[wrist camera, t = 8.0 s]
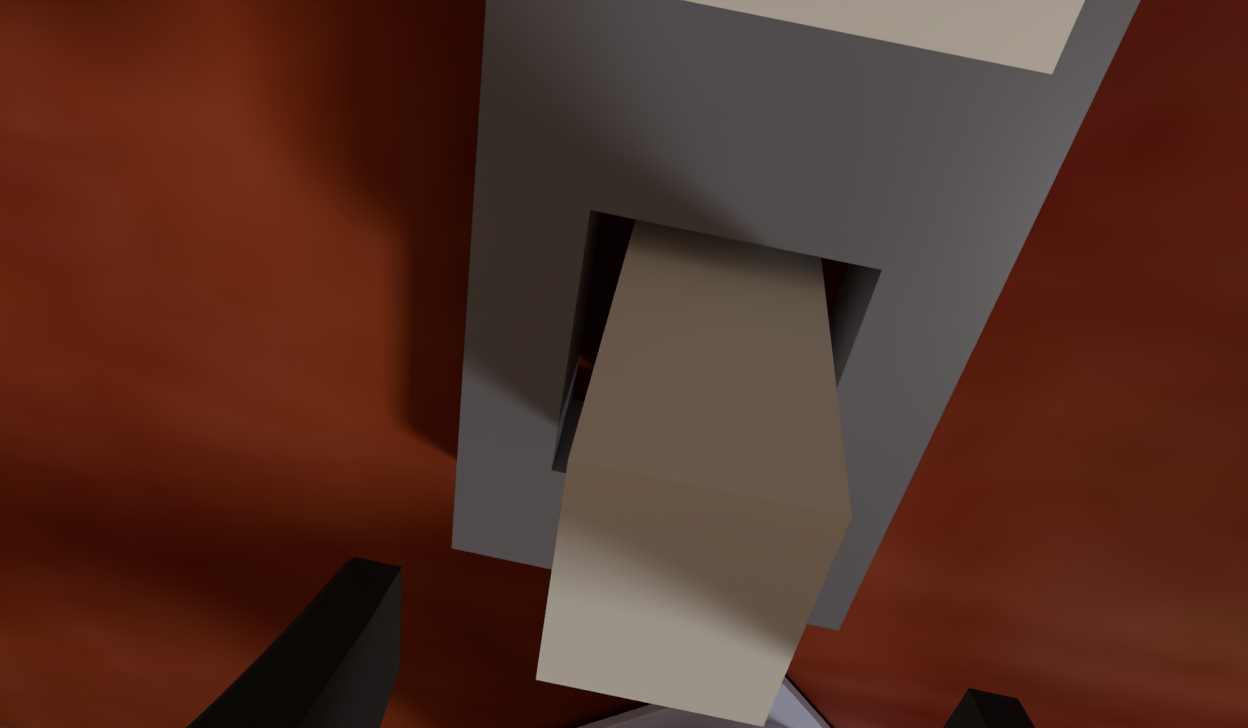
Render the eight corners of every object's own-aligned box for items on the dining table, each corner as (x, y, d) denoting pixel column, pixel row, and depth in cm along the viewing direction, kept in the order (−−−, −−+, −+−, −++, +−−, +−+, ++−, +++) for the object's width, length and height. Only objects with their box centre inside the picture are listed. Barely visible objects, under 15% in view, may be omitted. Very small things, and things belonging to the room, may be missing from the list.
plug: (763, 407, 20) (763, 726, 13) (610, 376, 20) (535, 680, 13) (817, 228, 17) (852, 516, 10) (642, 194, 17) (568, 459, 11)
